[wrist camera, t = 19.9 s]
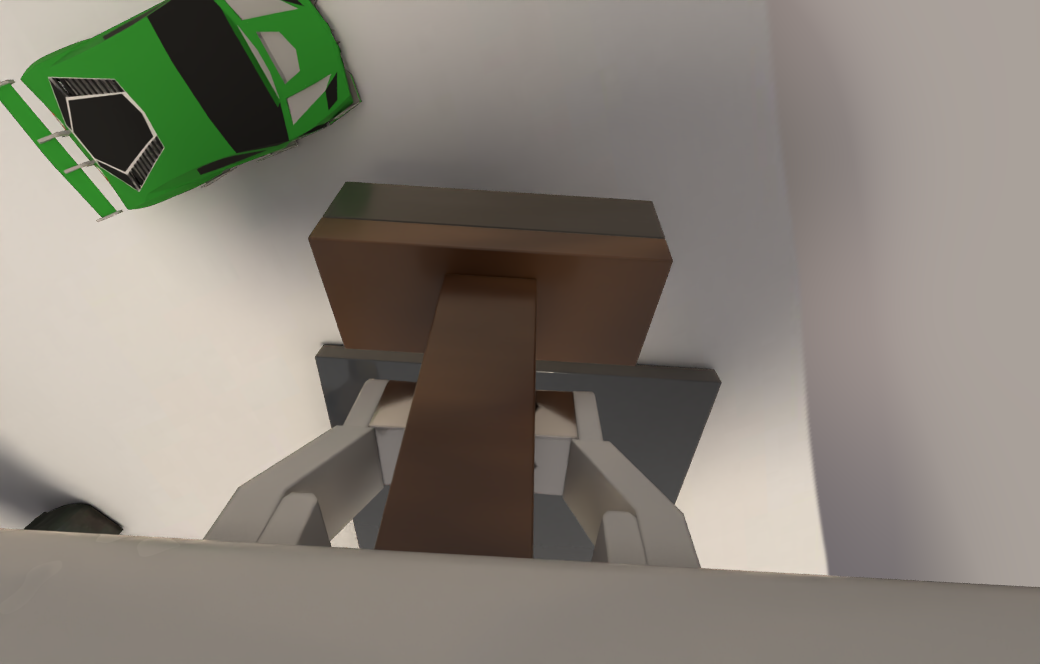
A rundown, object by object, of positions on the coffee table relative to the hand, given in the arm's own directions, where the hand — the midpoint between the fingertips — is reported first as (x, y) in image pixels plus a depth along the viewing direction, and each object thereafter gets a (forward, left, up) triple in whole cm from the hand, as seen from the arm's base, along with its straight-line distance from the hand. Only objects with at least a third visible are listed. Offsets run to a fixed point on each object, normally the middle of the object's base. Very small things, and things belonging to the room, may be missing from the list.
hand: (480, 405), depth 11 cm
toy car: (+10, -6, -9) cm, 14 cm away
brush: (0, -2, -5) cm, 6 cm away
